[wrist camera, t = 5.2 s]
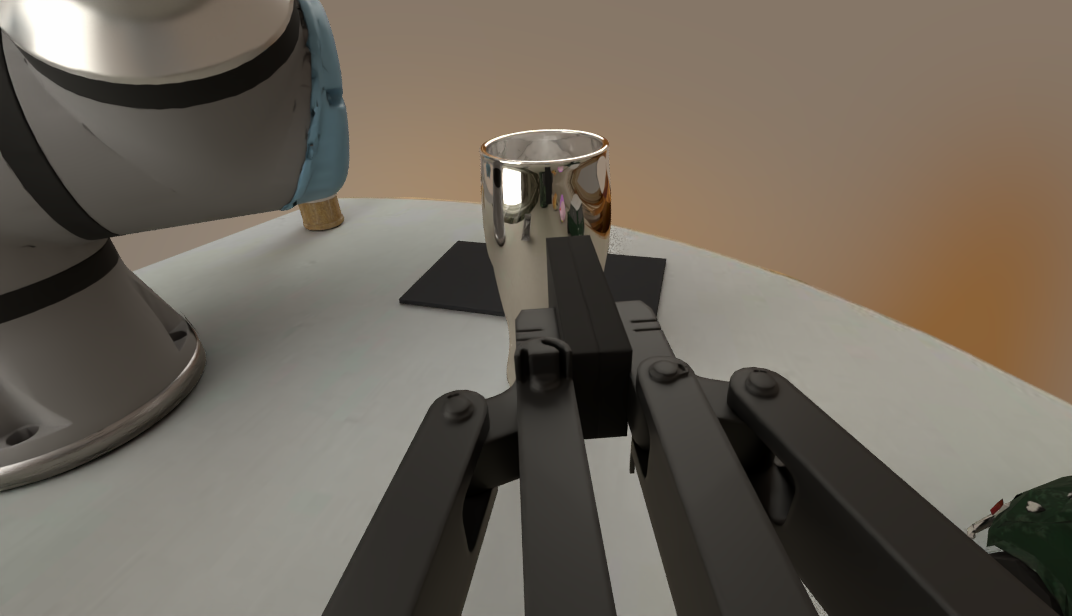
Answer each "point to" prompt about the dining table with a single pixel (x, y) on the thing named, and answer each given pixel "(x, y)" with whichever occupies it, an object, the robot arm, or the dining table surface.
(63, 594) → the dining table surface
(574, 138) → the silver metal tumbler
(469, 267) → the mat
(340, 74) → the robot arm
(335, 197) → the sprinkles bottle
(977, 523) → the miniature car
